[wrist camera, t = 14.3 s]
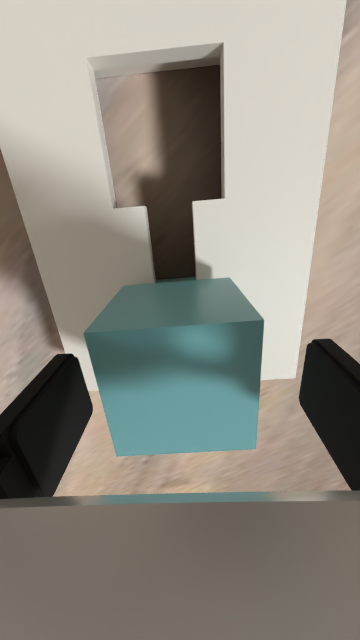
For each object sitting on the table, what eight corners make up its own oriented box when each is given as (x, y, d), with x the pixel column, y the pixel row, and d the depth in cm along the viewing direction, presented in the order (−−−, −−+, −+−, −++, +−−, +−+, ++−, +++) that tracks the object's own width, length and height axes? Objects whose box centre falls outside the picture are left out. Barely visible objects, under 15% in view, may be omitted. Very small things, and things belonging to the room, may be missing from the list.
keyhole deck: (303, 30, 13) (352, -44, 9) (275, 349, 21) (295, 378, 17) (16, 63, 13) (-46, 5, 10) (95, 361, 21) (77, 392, 18)
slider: (217, 261, 18) (264, 320, 8) (218, 333, 20) (255, 449, 10) (137, 268, 18) (83, 332, 8) (148, 338, 20) (116, 456, 10)
